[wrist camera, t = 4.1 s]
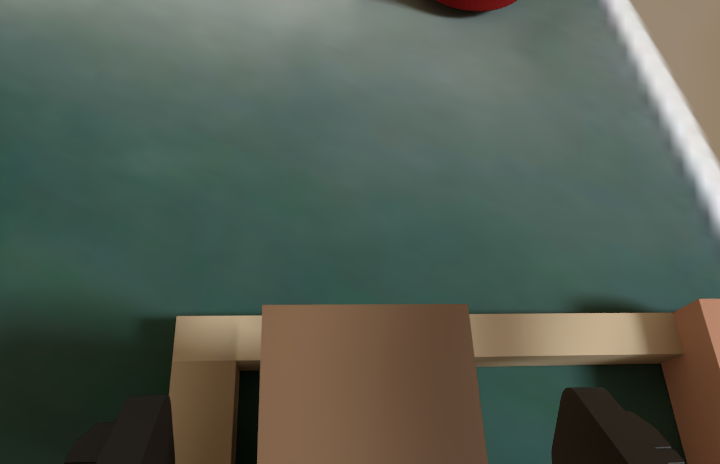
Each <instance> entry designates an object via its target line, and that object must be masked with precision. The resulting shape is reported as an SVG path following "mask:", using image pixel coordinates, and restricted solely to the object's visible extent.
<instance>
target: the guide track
mask: <svg viewBox="0 0 720 464" xmlns="http://www.w3.org/2000/svg"><path fill="white" fill-rule="evenodd" d="M469 316H470V324H471V332H472V340H473V348H474V356H475V364H476V367H494V366H553V365H612V364H661V366H662V370H663V374H664V377H665V381H666V385H667V389H668V393H669V397H670V400H671V404H672V408H673V412H674V416H675V420H676V424H677V427H678V431H679V435H680V439H681V443H682V447H683V450H684V454H685V458H686V462H687V464H720V299H698V300H696V301H694V302H692V303H690V304H688V305H687V306H685V307H683V308H681V309H679V310H677V311H675V312H674V313H556V314H469ZM261 330H262V316H177V318H176V328H175V338H174V348H173V359H172V369H171V379H170V389H169V396H170V400H171V409H172V423H173V436H174V450H175V464H235V459H236V438H237V417H238V396H239V375H240V371H259V370H260V359H261Z"/></svg>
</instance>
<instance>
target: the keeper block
mask: <svg viewBox="0 0 720 464" xmlns="http://www.w3.org/2000/svg"><path fill="white" fill-rule="evenodd" d="M257 464H488V461H487V453H486V445H485V437H484V429H483V421H482V412H481V404H480V396H479V388H478V380H477V372H476V364H475V356H474V348H473V340H472V332H471V324H470V316H469V308H468V304H383V305H262V330H261V359H260V389H259V419H258V449H257Z"/></svg>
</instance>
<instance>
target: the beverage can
mask: <svg viewBox="0 0 720 464" xmlns="http://www.w3.org/2000/svg"><path fill="white" fill-rule="evenodd" d="M435 1H437V2H439V3H442V4H444V5H447V6H450V7H453V8H456V9H461V10H467V11H490V10H496V9H499V8H503V7H505V6H508V5H510V4H512V3H514V2H515V1H517V0H435Z"/></svg>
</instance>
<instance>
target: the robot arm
mask: <svg viewBox="0 0 720 464" xmlns="http://www.w3.org/2000/svg"><path fill="white" fill-rule="evenodd" d="M65 464H175V450H174V436H173V423H172V409H171V400H170V396H169V395H168V394H162V395H129V396H128V397H127V398H126V400H125V402H124V404H123V406H122V409H121V411H120V413H119V415H118V417H117V419H116V421H115V422H105V423H96V424H95V425H94V426H93V427H92V428H91V429H90V430H88V431H87V432H86V433H85V434H84V435H83V436H81V437H80V438H79V439H78V440H77V441H76V442H75V444H74V446H73V448H72V450H71V451H70V453H69V455H68V457H67V459H66V461H65ZM552 464H685V461H684V460H683V459H682V458H681V456H680V455H679V454H678V453H677V452H676V451H675V450H674V449H671V445H670V444H669V443H668V442H667V440H666V439H665V438H664V437H663V436H662V435H661V434H660V432H659V431H658V430H657V429H656V428H655V427H654V426H652V425H651V424H649V423H648V422H647V421H645V420H644V419H642V418H641V417H639V416H638V415H636V414H635V413H633V412H632V411H624V410H623V408H622V407H621V406H620V405H619V404H618V402H617V401H616V400H615V399H614V398H613V396H612V395H611V394H610V393H609V392H608V391H607V390H606V389H605V388H603V387H580V388H566V389H565V390H564V391H563V393H562V396H561V401H560V406H559V412H558V417H557V423H556V428H555V434H554V439H553V445H552Z"/></svg>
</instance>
